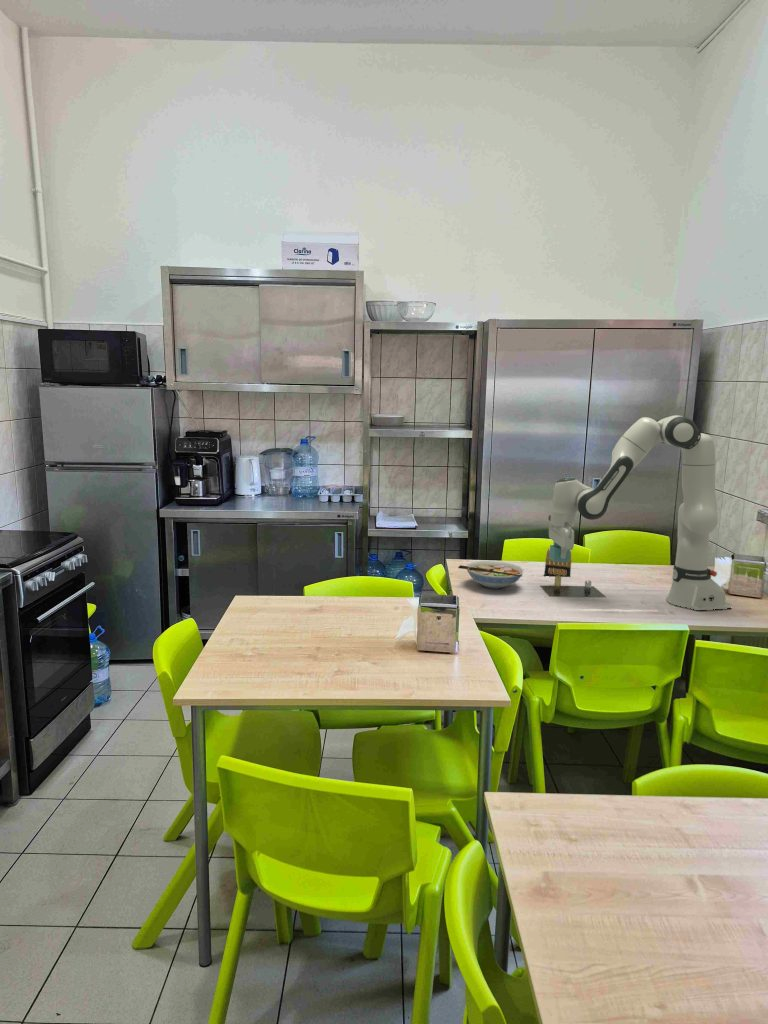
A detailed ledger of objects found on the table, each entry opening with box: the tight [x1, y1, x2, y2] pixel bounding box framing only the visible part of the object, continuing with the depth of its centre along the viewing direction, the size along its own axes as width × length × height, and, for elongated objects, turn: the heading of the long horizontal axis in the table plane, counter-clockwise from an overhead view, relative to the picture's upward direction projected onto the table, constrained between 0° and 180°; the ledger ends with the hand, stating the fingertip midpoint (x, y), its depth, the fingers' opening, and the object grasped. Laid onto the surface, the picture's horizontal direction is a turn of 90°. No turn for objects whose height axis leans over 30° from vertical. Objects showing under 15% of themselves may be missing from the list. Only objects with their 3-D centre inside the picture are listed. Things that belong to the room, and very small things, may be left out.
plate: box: [539, 576, 607, 598], centre depth 263 cm, size 22×14×7 cm, turn 93°
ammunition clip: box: [543, 548, 572, 578], centre depth 284 cm, size 11×2×12 cm, turn 72°
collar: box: [549, 544, 571, 563], centre depth 260 cm, size 6×6×5 cm
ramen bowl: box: [457, 560, 525, 590], centre depth 269 cm, size 25×23×8 cm
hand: (559, 555), depth 260 cm, fingers closed on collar, 6 cm apart
